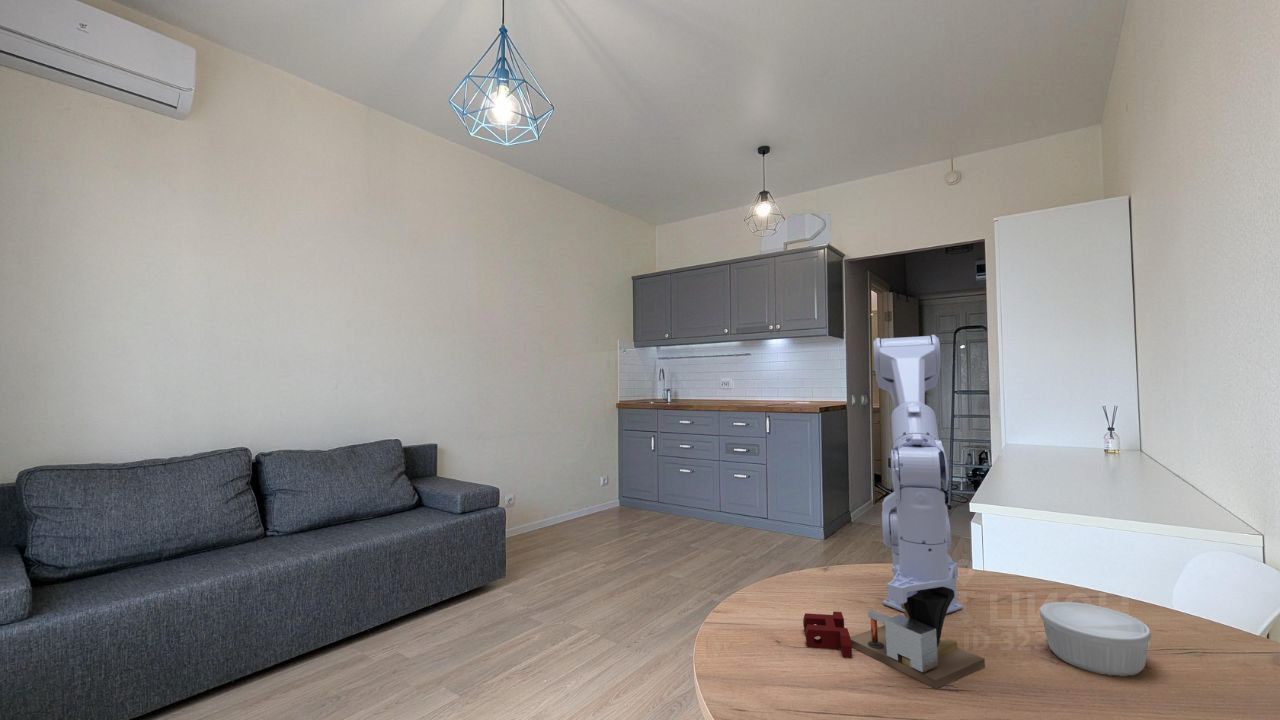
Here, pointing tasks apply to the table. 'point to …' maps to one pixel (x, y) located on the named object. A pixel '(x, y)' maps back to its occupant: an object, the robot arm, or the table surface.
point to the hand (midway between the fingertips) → (928, 645)
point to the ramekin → (1096, 637)
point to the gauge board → (949, 669)
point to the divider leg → (907, 640)
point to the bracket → (827, 632)
